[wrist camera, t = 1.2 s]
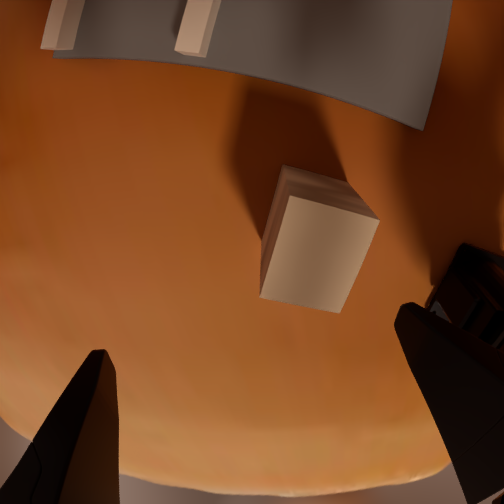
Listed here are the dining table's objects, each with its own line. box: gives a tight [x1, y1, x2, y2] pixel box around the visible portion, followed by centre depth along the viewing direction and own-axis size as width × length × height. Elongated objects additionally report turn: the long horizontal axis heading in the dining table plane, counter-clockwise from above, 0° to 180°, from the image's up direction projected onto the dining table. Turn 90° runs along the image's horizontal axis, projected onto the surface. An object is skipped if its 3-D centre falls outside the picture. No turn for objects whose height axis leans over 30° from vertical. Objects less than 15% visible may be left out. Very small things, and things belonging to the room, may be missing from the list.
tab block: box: [260, 164, 380, 313], centre depth 16 cm, size 4×5×6 cm
